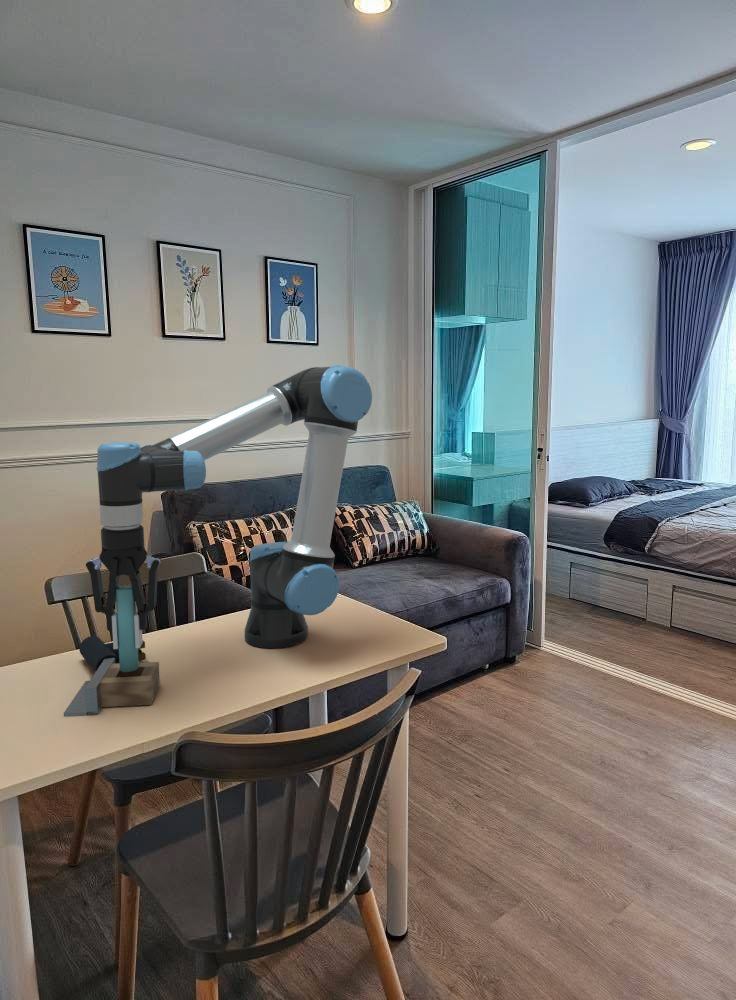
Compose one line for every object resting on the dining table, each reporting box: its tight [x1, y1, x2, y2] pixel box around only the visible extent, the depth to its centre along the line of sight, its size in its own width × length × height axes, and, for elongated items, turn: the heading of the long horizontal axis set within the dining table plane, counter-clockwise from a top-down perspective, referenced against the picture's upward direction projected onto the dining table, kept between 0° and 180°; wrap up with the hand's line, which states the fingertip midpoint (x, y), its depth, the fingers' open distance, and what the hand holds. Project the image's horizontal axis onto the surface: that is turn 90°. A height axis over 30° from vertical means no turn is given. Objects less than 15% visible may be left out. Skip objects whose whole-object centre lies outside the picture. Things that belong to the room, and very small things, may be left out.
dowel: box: [115, 585, 139, 672], centre depth 130 cm, size 3×3×16 cm
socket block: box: [100, 661, 161, 708], centre depth 131 cm, size 9×9×5 cm
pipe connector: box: [78, 635, 147, 673], centre depth 146 cm, size 12×5×15 cm
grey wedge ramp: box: [63, 658, 115, 717], centre depth 131 cm, size 6×14×5 cm, turn 7°
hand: (128, 645), depth 130 cm, fingers closed on dowel, 3 cm apart
